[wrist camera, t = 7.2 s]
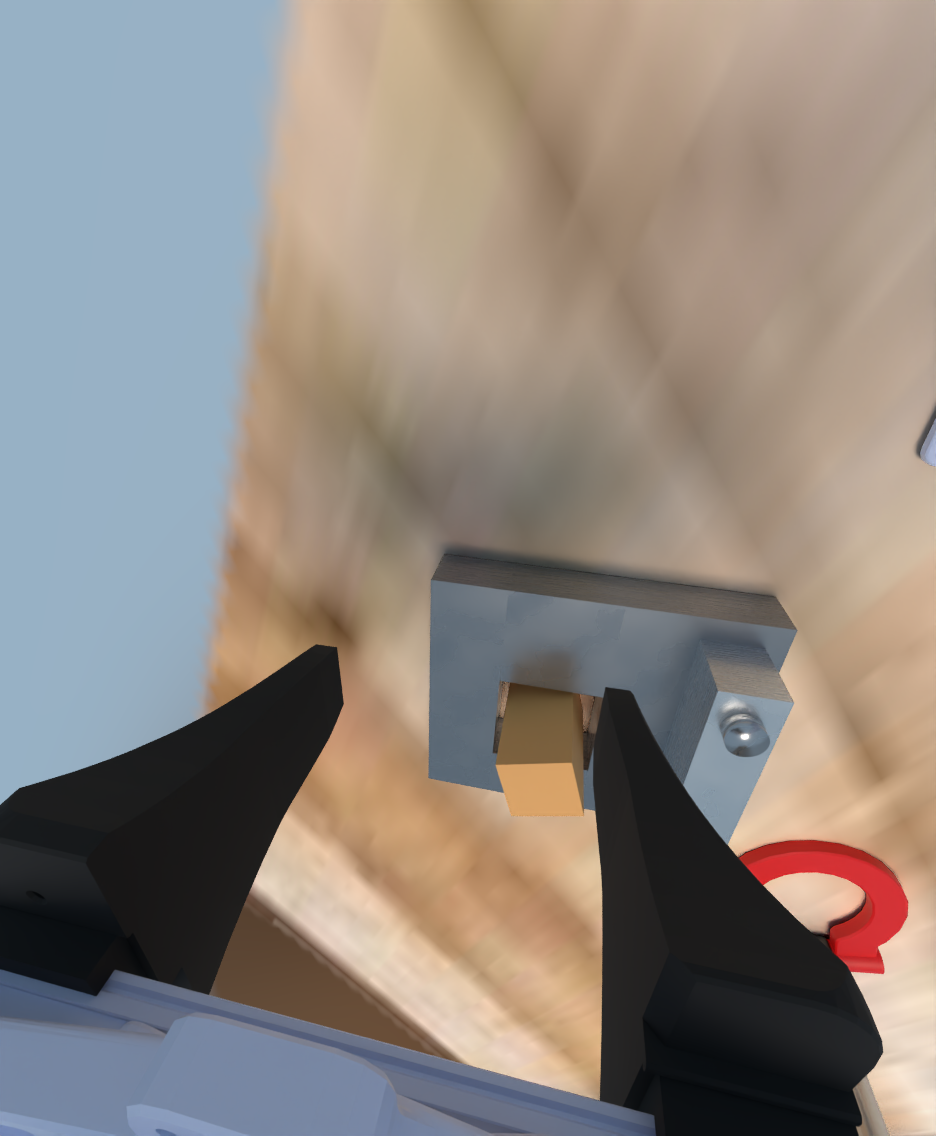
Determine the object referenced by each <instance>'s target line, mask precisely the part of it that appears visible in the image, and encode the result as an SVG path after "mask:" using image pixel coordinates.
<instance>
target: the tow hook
mask: <svg viewBox="0 0 936 1136" xmlns="http://www.w3.org/2000/svg"><path fill="white" fill-rule="evenodd" d="M739 859H740V860H741V861H742V862H743V864H744V865H745V866H746V867H747V868H748V869H749V870H750V871H751V872H752V874H753V875H754V876H755V877H756V878H757V879H758V880H759V881H760V882H761V884H762V885H764V884H765V883H767V882H769V881H770V880H772V879H775V878H778V877H781V876H783V875H788V874H794V873H805V872H818V873H824V874H831V875H835V876H838V877H841V878H844V879H847V880H849V881H851V882H853V883H854V884H856V885H858V886H860V887H861V888H862V889H863V890H864V891H865V892H866V903H865V905H864V907H863V909H862V911H860V912H859V913H858V914H857V915H856V916H855V917H854V918H852V919H850V920H848V921H846V922H844V923H842V924H838V925H835V926H833V927H832V928H831V929H830V939H826V938H825V937H823V936H816V937H817V938H818V939H819V940H820V941H821V942H822V943H823V944H824V945H825V946H827V947H828V948H829V949H830V950H831V951H832V952H833V953H834V954H835V955H836V956H838V957H839V958H840V959H841V960H842V961H843V962H844V963H845V964H846V965H847V966H848V968H849V970H850V972H862V973H877V974H884V964H883V960H882V957H881V954H880V952H879V950H878V946H880V945H882V944H884V943H886V942H887V941H888V940H889V939H890V938H892V937H893V936H894V935H895V934H896V933H897V932H898V931H900V929H901V928H902V926H903V924H904V922H905V920H906V918H907V916H908V900H907V898H906V896H905V894H904V891H903V889H902V887H901V885H900V883H899V882H898V880H897V878H896V876H895V875H894V874H893V873H892V872H891V871H890V870H889V869H888V868H887V867H886V866H885V865H884V864H883V863H882V862H881V861H879V860H877V859H876V858H874V857H872V856H870V855H869V854H867V853H865V852H863V851H861V850H858V849H855V848H852V847H849V846H845V845H842V844H838V843H830V842H823V841H816V840H805V841H785V842H780V843H774V844H769V845H765V846H762V847H760V848H757V849H755V850H752V851H750V852H747V853H745V854H744V855H743V856H741V857H740V858H739ZM853 1092H854V1095H855V1098H856V1100H857V1103H858V1106H859V1109H860V1112H861V1115H862V1125H861V1126H860V1127H857V1126H856V1128H857V1131H858V1134H859V1136H890V1135H889V1132H888V1130H887V1127H886V1124H885V1122H884V1119H883V1117H882V1114H881V1111H880V1109H879V1106H878V1103H877V1101H876V1098H875V1096H874V1093H873V1090H872V1088H871V1085H870V1082H869V1080H868V1077H867V1075H866V1076H865V1077H864V1078H863V1079H862V1080H861V1081H860V1082H859V1083H858V1084H857V1085H856V1086H855V1087H854V1088H853Z"/></svg>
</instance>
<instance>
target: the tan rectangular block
mask: <svg viewBox="0 0 936 1136" xmlns="http://www.w3.org/2000/svg"><path fill="white" fill-rule="evenodd" d="M496 768H497V771H498V775H499V778H500V781H501V784H502V787H503V791H504V794H505V797H506V800H507V803H508V807H509V810H510V813H511V816H584V780H583V710H582V705H581V700H580V695H579V694H578V693H572V692H566V691H560V690H554V689H548V688H542V687H535V686H529V685H523V684H517V683H511V682H510V686H509V691H508V697H507V703H506V708H505V714H504V720H503V725H502V731H501V737H500V742H499V748H498V753H497V759H496Z"/></svg>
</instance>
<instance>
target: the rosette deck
mask: <svg viewBox="0 0 936 1136" xmlns="http://www.w3.org/2000/svg"><path fill="white" fill-rule="evenodd" d="M796 632H797V629H796V627H795V626H794V624H793V623H792V621H791V620H790V618H789V616H788V615H787V613H786V612H785V610H784V609H783V607H782V606H781V604H780V603H779V601H778V599H777V598H776V597H772V596H764V595H757V594H749V593H741V592H733V591H726V590H718V589H710V588H703V587H695V586H687V585H679V584H672V583H664V582H656V581H649V580H641V579H633V578H625V577H618V576H610V575H602V574H595V573H587V572H579V571H571V570H564V569H556V568H548V567H541V566H533V565H525V564H517V563H510V562H502V561H494V560H487V559H479V558H471V557H463V556H456V555H448V554H444V556H443V558H442V560H441V562H440V564H439V566H438V567H437V569H436V571H435V573H434V575H433V577H432V579H431V625H430V705H429V778H431V779H436V780H441V781H446V782H451V783H456V784H461V785H466V786H471V787H477V788H482V789H487V790H492V791H497V792H502V793H504V791H503V787H502V784H501V781H500V778H499V775H498V771H497V768H496V759H497V753H498V748H499V742H500V737H501V731H502V725H503V720H504V719H503V718H499V715H500V705H501V695H502V686H503V681H505V682H511V683H517V684H523V685H529V686H535V687H542V688H548V689H554V690H560V691H566V692H572V693H578V694H584V695H590V696H595V701H594V705H593V710H592V714H591V719H590V723H589V728H588V733H583V780H584V809H589V810H594V811H595V801H594V790H593V750H594V741H595V736H596V731H597V726H598V721H599V716H600V711H601V706H602V701H603V696H604V691H605V687H609V688H616V689H623V690H630V691H631V692H632V693H633V694H634V696H635V699H636V701H637V703H638V706H639V708H640V710H641V712H642V714H643V716H644V718H645V720H646V722H647V724H648V726H649V728H650V730H651V732H652V734H653V736H654V738H655V739H656V741H657V743H658V745H659V747H660V748H661V750H662V752H663V753H664V755H665V757H666V759H667V760H668V762H669V764H670V765H671V767H672V769H673V770H674V772H675V773H676V775H677V777H678V778H679V780H680V781H681V783H682V784H683V786H684V787H685V789H686V790H687V792H688V793H689V795H690V796H691V798H692V799H693V801H694V802H695V803H696V805H697V806H698V808H699V809H700V810H701V812H702V813H703V815H704V816H705V817H706V818H707V820H708V821H709V822H710V824H711V825H712V826H713V828H714V829H715V830H716V832H717V833H718V834H719V835H720V836H721V838H722V839H723V840H724V841H725V843H726V844H727V845H728V843H729V840H730V838H731V836H732V834H733V832H734V830H735V828H736V826H737V823H738V821H739V819H740V817H741V815H742V813H743V811H744V809H745V806H746V804H747V802H748V800H749V798H750V796H751V794H752V792H753V789H754V787H755V785H756V783H757V781H758V779H759V777H760V775H761V772H762V770H763V768H764V766H765V764H766V762H767V760H768V758H769V755H770V753H771V751H772V749H773V747H774V745H775V743H776V741H777V738H778V736H779V734H780V732H781V730H782V728H783V726H784V724H785V721H786V719H787V717H788V715H789V713H790V711H791V709H792V707H793V704H794V702H793V700H792V698H791V696H790V694H789V692H788V690H787V688H786V686H785V684H784V682H783V681H782V679H781V677H780V675H779V672H780V669H781V667H782V665H783V662H784V660H785V658H786V655H787V653H788V651H789V649H790V646H791V644H792V642H793V639H794V637H795V635H796Z"/></svg>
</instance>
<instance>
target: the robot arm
mask: <svg viewBox="0 0 936 1136" xmlns="http://www.w3.org/2000/svg"><path fill="white" fill-rule="evenodd" d="M920 456H921V459H922V460H923V461H924V462H925V463H927V464H929V465H932V466H935V467H936V419H935V421H934V423H933V425H932V427H931V429H930V431H929V433H928V436H927V438H926V440H925V442H924V444H923V446H922V448H921V452H920ZM343 704H344V702H343V694H342V685H341V677H340V669H339V660H338V652H337V647H331V646H324V645H317V644H316V645H315V646H313V647H311V648H310V649H308V650H307V651H305V652H304V653H302V654H301V655H300V656H298V657H297V658H295V659H294V660H292V661H291V662H289V663H288V664H286V665H285V666H284V667H282V668H281V669H279V670H278V671H276V672H275V673H273V674H272V675H270V676H269V677H267V678H266V679H264V680H263V681H261V682H260V683H258V684H257V685H255V686H254V687H252V688H251V689H249V690H247V691H246V692H244V693H243V694H241V695H239V696H238V697H236V698H234V699H233V700H231V701H230V702H228V703H226V704H225V705H223V706H221V707H220V708H218V709H216V710H215V711H213V712H211V713H209V714H207V715H206V716H204V717H202V718H200V719H198V720H196V721H194V722H192V723H190V724H188V725H187V726H185V727H183V728H181V729H179V730H177V731H175V732H172V733H170V734H168V735H166V736H163V737H161V738H159V739H157V740H154V741H152V742H150V743H148V744H145V745H143V746H141V747H139V748H136V749H134V750H132V751H129V752H127V753H124V754H122V755H119V756H116V757H114V758H111V759H109V760H106V761H103V762H100V763H98V764H95V765H92V766H89V767H86V768H83V769H81V770H78V771H75V772H72V773H68V774H65V775H62V776H58V777H55V778H52V779H49V780H45V781H42V782H39V783H36V784H32V785H29V786H25V787H22V788H19V789H18V790H17V791H15V792H14V793H13V794H12V795H11V796H10V797H9V798H8V799H7V800H5V801H4V802H3V803H2V804H1V805H0V1136H859V1134H858V1131H857V1128H856V1126H857V1127H860V1126H861V1125H862V1115H861V1112H860V1109H859V1106H858V1103H857V1100H856V1098H855V1095H854V1092H853V1088H854V1087H855V1086H856V1085H857V1084H858V1083H859V1082H860V1081H861V1080H862V1079H863V1078H864V1077H865V1076H866V1075H867V1074H868V1073H869V1072H870V1071H871V1070H872V1069H873V1068H874V1067H875V1065H876V1064H877V1062H878V1060H879V1059H880V1057H881V1055H882V1054H883V1046H882V1040H881V1037H880V1035H879V1032H878V1030H877V1027H876V1025H875V1022H874V1020H873V1017H872V1015H871V1012H870V1010H869V1008H868V1006H867V1004H866V1001H865V999H864V997H863V995H862V993H861V991H860V989H859V987H858V985H857V984H856V982H855V980H854V978H853V976H852V974H851V972H850V970H849V968H848V966H847V965H846V964H845V963H844V962H843V961H842V960H841V959H840V958H839V957H838V956H836V955H835V954H834V953H833V952H832V951H831V950H830V949H829V948H828V947H827V946H825V945H824V944H823V943H822V942H821V941H820V940H819V939H818V938H817V937H816V936H814V935H813V934H812V933H811V932H810V931H809V930H808V929H807V928H806V927H805V926H803V925H802V924H801V923H800V922H799V921H798V920H797V919H796V918H795V917H794V916H793V915H792V914H791V913H790V912H789V911H788V910H787V909H786V908H785V907H784V906H783V905H782V904H781V903H780V902H779V901H778V900H777V899H776V898H775V897H774V896H773V895H772V894H771V893H770V892H769V891H768V890H767V889H766V888H765V887H764V886H763V885H762V884H761V882H760V881H759V880H758V879H757V878H756V877H755V876H754V875H753V874H752V872H751V871H750V870H749V869H748V868H747V867H746V866H745V865H744V864H743V862H742V861H741V860H740V859H739V858H738V857H737V856H736V855H735V854H734V852H733V851H732V850H731V849H730V848H729V846H728V845H727V844H726V843H725V841H724V840H723V839H722V838H721V836H720V835H719V834H718V833H717V832H716V830H715V829H714V828H713V826H712V825H711V824H710V822H709V821H708V820H707V818H706V817H705V816H704V815H703V813H702V812H701V810H700V809H699V808H698V806H697V805H696V803H695V802H694V801H693V799H692V798H691V796H690V795H689V793H688V792H687V790H686V789H685V787H684V786H683V784H682V783H681V781H680V780H679V778H678V777H677V775H676V773H675V772H674V770H673V769H672V767H671V765H670V764H669V762H668V760H667V759H666V757H665V755H664V753H663V752H662V750H661V748H660V747H659V745H658V743H657V741H656V739H655V738H654V736H653V734H652V732H651V730H650V728H649V726H648V724H647V722H646V720H645V718H644V716H643V714H642V712H641V710H640V708H639V706H638V703H637V701H636V699H635V696H634V694H633V693H632V692H631V691H630V690H623V689H616V688H609V687H605V691H604V696H603V701H602V706H601V711H600V716H599V721H598V726H597V731H596V736H595V741H594V750H593V790H594V801H595V812H596V822H597V833H598V843H599V854H600V864H601V876H602V922H603V946H602V1039H601V1080H600V1101H599V1100H595V1099H591V1098H588V1097H584V1096H580V1095H577V1094H573V1093H569V1092H566V1091H562V1090H558V1089H554V1088H551V1087H547V1086H543V1085H540V1084H536V1083H532V1082H529V1081H525V1080H521V1079H517V1078H514V1077H510V1076H506V1075H503V1074H499V1073H495V1072H492V1071H488V1070H484V1069H480V1068H477V1067H473V1066H469V1065H466V1064H462V1063H458V1062H455V1061H451V1060H447V1059H444V1058H440V1057H436V1056H432V1055H429V1054H425V1053H421V1052H418V1051H414V1050H410V1049H407V1048H402V1047H399V1046H395V1045H392V1044H388V1043H384V1042H380V1041H377V1040H373V1039H370V1038H366V1037H362V1036H358V1035H355V1034H351V1033H347V1032H344V1031H340V1030H336V1029H333V1028H329V1027H325V1026H321V1025H318V1024H314V1023H310V1022H307V1021H303V1020H299V1019H296V1018H292V1017H288V1016H284V1015H281V1014H277V1013H273V1012H270V1011H266V1010H262V1009H258V1008H255V1007H251V1006H247V1005H244V1004H240V1003H236V1002H232V1001H229V1000H225V999H221V998H218V997H214V996H210V995H209V993H210V991H211V988H212V985H213V982H214V980H215V977H216V975H217V972H218V969H219V967H220V964H221V961H222V959H223V956H224V953H225V951H226V948H227V945H228V942H229V940H230V938H231V935H232V932H233V930H234V928H235V925H236V923H237V920H238V918H239V915H240V913H241V911H242V908H243V906H244V903H245V901H246V898H247V896H248V894H249V891H250V889H251V887H252V884H253V882H254V880H255V878H256V875H257V873H258V871H259V868H260V866H261V864H262V861H263V859H264V857H265V855H266V853H267V851H268V848H269V846H270V844H271V842H272V840H273V838H274V835H275V833H276V831H277V829H278V827H279V825H280V823H281V821H282V819H283V817H284V815H285V813H286V812H287V810H288V808H289V806H290V804H291V803H292V801H293V799H294V798H295V796H296V794H297V793H298V791H299V789H300V787H301V786H302V784H303V782H304V781H305V779H306V777H307V776H308V774H309V772H310V770H311V769H312V767H313V765H314V764H315V762H316V760H317V758H318V757H319V755H320V753H321V752H322V750H323V748H324V746H325V745H326V743H327V741H328V739H329V737H330V735H331V733H332V731H333V728H334V726H335V724H336V722H337V719H338V717H339V714H340V712H341V709H342V707H343Z"/></svg>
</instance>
